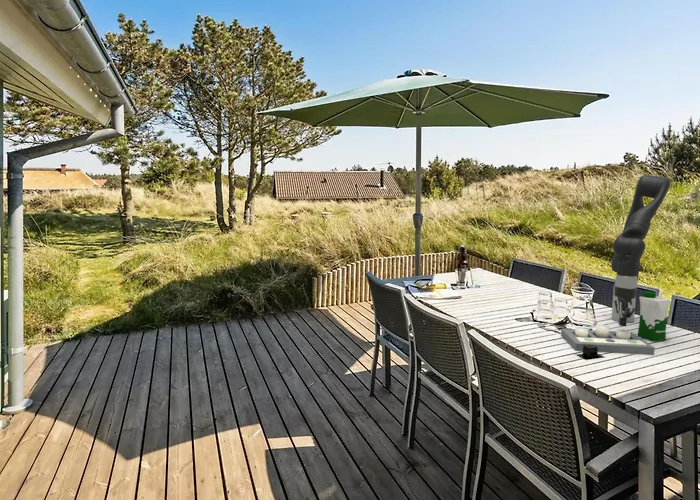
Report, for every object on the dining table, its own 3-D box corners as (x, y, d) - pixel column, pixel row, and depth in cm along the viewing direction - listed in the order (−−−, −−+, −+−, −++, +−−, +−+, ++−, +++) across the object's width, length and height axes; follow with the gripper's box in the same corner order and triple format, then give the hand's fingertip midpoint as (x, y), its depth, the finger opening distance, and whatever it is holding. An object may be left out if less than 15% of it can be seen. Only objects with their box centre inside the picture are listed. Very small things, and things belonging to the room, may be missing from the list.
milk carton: (648, 333, 176) (652, 290, 173) (669, 340, 167) (673, 295, 164) (633, 335, 173) (637, 291, 171) (654, 342, 165) (658, 296, 162)
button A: (613, 340, 168) (614, 329, 167) (626, 340, 167) (626, 329, 166) (618, 344, 163) (619, 332, 162) (631, 345, 162) (632, 333, 161)
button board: (561, 335, 175) (561, 328, 175) (630, 338, 170) (631, 331, 170) (575, 350, 158) (576, 343, 158) (653, 354, 152) (654, 347, 152)
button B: (593, 335, 169) (594, 324, 168) (605, 336, 168) (606, 324, 167) (598, 339, 164) (598, 328, 164) (610, 340, 163) (611, 328, 163)
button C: (573, 338, 171) (573, 327, 170) (585, 338, 170) (585, 327, 169) (577, 342, 166) (577, 331, 165) (589, 342, 165) (590, 331, 164)
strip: (575, 338, 164) (575, 336, 163) (639, 341, 159) (640, 339, 159) (580, 342, 159) (580, 341, 159) (646, 345, 154) (646, 344, 154)
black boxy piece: (595, 352, 158) (595, 341, 157) (611, 359, 151) (611, 347, 150) (569, 355, 155) (570, 344, 154) (584, 363, 148) (585, 351, 147)
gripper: (608, 281, 169) (605, 320, 171) (623, 289, 156) (619, 330, 159) (628, 282, 167) (624, 321, 170) (644, 289, 155) (640, 331, 157)
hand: (622, 325), depth 164 cm, fingers closed
